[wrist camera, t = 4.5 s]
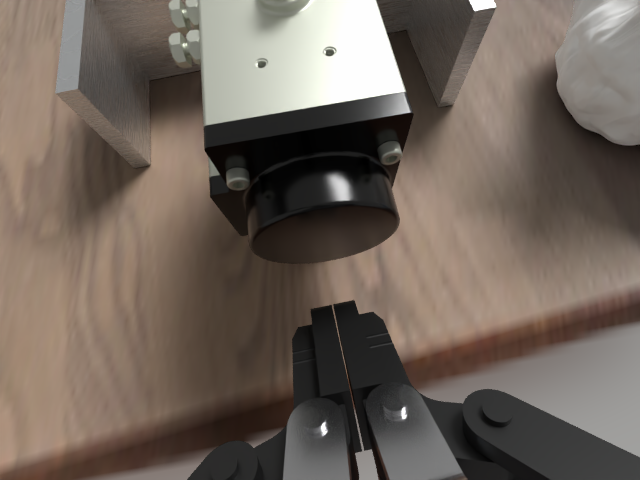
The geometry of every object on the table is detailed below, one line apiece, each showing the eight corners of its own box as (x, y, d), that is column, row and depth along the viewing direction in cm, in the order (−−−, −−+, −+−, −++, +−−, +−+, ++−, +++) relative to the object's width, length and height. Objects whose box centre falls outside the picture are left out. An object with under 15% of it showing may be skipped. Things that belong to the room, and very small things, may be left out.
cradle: (134, 168, 20) (55, 93, 15) (134, 71, 23) (68, -23, 17) (454, 104, 21) (496, 6, 15) (415, 16, 23) (439, -94, 18)
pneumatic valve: (337, 106, 21) (332, -189, 10) (377, 285, 17) (449, 132, 6) (250, 120, 21) (147, -157, 10) (270, 303, 17) (131, 186, 6)
